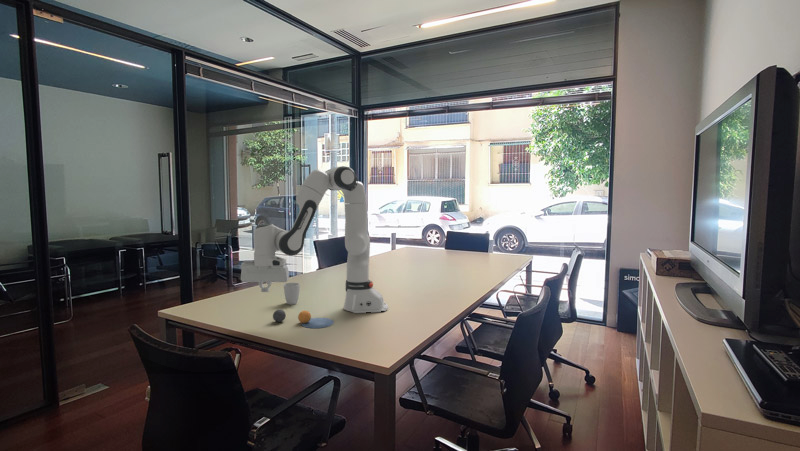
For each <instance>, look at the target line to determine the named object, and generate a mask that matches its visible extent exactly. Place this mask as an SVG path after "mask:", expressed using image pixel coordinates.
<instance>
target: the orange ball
mask: <svg viewBox="0 0 800 451" xmlns="http://www.w3.org/2000/svg"><path fill="white" fill-rule="evenodd" d="M297 319H298V321H299V322H300V324H301V323H307V322H309V321H310V319H312V315H311V313H310V312H309V311H308V310H301V311H300V312H299V313H298V316H297Z"/></svg>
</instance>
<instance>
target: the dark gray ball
mask: <svg viewBox="0 0 800 451" xmlns="http://www.w3.org/2000/svg"><path fill="white" fill-rule="evenodd" d="M286 316H287V314H286V311H285V310H283V309H279V308H278V309H276V310H275V311H273V314H272V319H273V321H275V322H277V323H281V322H283V321H284V320H285V319H286Z"/></svg>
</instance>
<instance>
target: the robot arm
mask: <svg viewBox="0 0 800 451" xmlns="http://www.w3.org/2000/svg"><path fill="white" fill-rule="evenodd" d="M328 190H329V191H341V192H342V194H343V199H344V200H343V201H344V202H343V204H344V218H345V219H344V220H345V224H344V246H345V249H346V251H347V261H346V279H345V286H344V287H345V299H344V304H343V309H344V310H345V311H347V312H351V313H353V314H367V313H366V312H371V313H382V312H381V311H385V312H386V310H388V309H389V306H388V303H386V302H384V301H385V300H384V297H383V294H382V293H380V291H378V290H376V289H375V288H374V283H373V281H372V280H370V279H369V277H370V275H369V274H370V273H369V272H370V270H369V269H370V252H371V251H370V250H371V249H370V248H371V238H370V235H369V234H368V219H369V217H368V204H367V203H368V200H367V195H366V194H367V193H366V188H365V185H364V183H363V182H362V181H359V179H358V177H357V175H356V173H355V170H354V169H353V168H351V167H349V166H346V165H342V166H337V167H332V168H330V169H328V170H326V171H324V170H323V169H318V168H317V169H313V170H312V171H311V172H310V173H308V175H307V177H306V178H305V179H304V181H303V182H302V184H301V186H300V188H299V189H298V191H297V194H296V198H295V199H296V204H297V205H298V207H299V210H298V214H297V216H296V218H295V221H294V223H293V225H292V227H291V229H290V230H285V229H282V228H280V227H278V226H276V225H274V224H273V223H271V222H270V223H269V222H267V223H262V224H258V225H257V226H256V227H255V228H254V231H253V232H254V233H253V246H254V252H253V260H244V261H242V262H241V264H240V269H241V271H240V272H241V273H240V281H241V282H242V283H258V286H259V288H260V290H261V291H260V292H261V293H269V292H270V288H271V285H272V283H287V282H288V280H290V273H289V267H288V265H287V259H286V258H283V257H281V256H277V255H276V252H281V253H283V254H285V255H286V256H289V257H291V256H293V257H294V256H296V255H298V254H300V253H301V251H302V250H303V248H304V246H305V237H306V235H307V233H308V230H309V228H310V225H311V223H312V221H313V219H314V217H315V214H316V211H317V210H318V207H319V205H320V203H321V202H322V200H323V198H324V196H325V194H326V192H327V191H328ZM264 283H266V284H267V286H266V287H265V286H264Z"/></svg>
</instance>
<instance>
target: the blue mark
mask: <svg viewBox="0 0 800 451" xmlns="http://www.w3.org/2000/svg"><path fill="white" fill-rule="evenodd" d="M334 323H335V322H334V320H333V319H331V318H327V317H313V318H312V317H311V319H310V321H309V322H307V323H301V322H300V324H301V326H302V327H304V328H307V329H323V328H327V327H328V328H329V327H331V326H333V324H334Z"/></svg>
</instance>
